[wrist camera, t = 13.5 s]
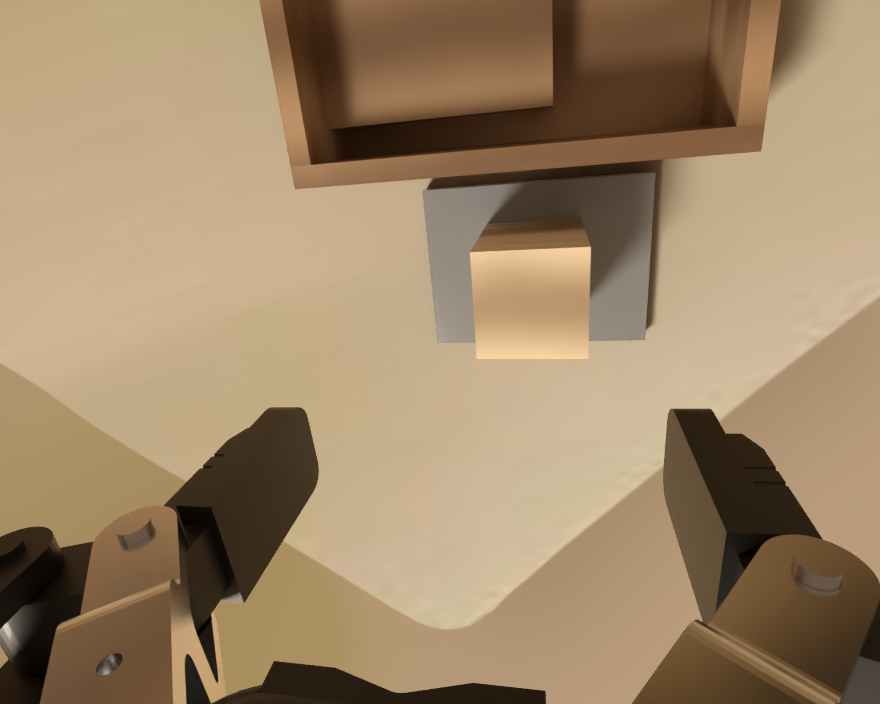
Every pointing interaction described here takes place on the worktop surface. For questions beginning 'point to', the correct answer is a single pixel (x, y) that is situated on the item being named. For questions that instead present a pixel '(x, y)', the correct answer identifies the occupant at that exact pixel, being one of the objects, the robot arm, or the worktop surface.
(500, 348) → the maple block
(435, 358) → the worktop surface
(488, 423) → the worktop surface
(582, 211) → the plate
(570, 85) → the walnut crate
